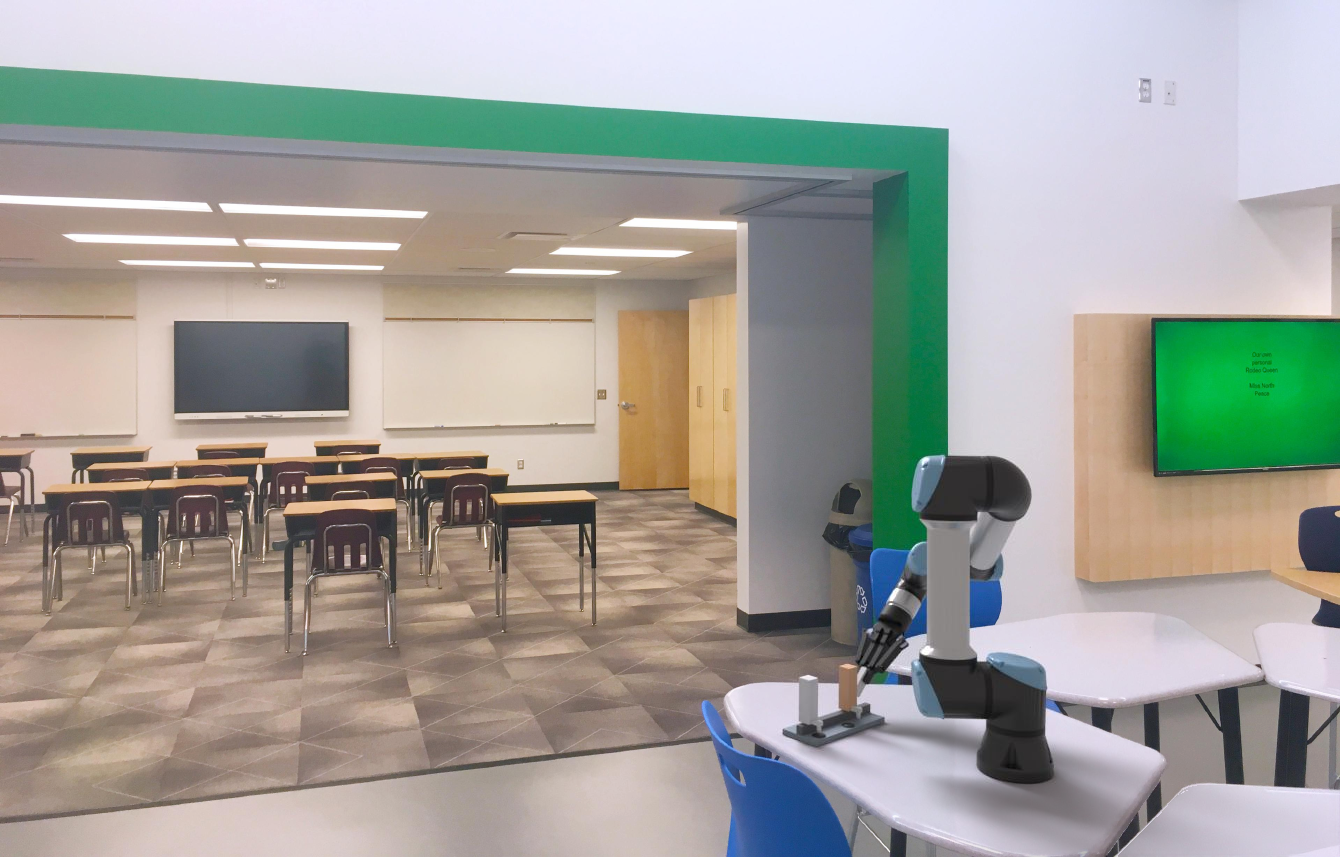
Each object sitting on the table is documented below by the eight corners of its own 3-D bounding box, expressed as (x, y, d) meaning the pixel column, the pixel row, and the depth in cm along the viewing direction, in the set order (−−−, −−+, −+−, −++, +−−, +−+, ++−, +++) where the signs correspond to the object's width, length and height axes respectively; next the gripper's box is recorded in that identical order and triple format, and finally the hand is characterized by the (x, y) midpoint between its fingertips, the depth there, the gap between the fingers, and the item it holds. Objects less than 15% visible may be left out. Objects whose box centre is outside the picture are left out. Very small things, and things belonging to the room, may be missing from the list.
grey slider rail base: (851, 710, 243) (851, 655, 242) (884, 721, 235) (885, 665, 235) (782, 733, 228) (783, 674, 227) (816, 746, 220) (816, 685, 219)
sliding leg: (846, 711, 237) (847, 663, 236) (864, 717, 232) (865, 668, 232) (838, 714, 235) (838, 665, 234) (856, 720, 231) (856, 671, 230)
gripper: (927, 626, 243) (883, 708, 233) (884, 616, 253) (840, 695, 243) (914, 607, 239) (869, 690, 229) (871, 598, 249) (825, 677, 239)
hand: (854, 693), depth 236 cm, fingers closed
